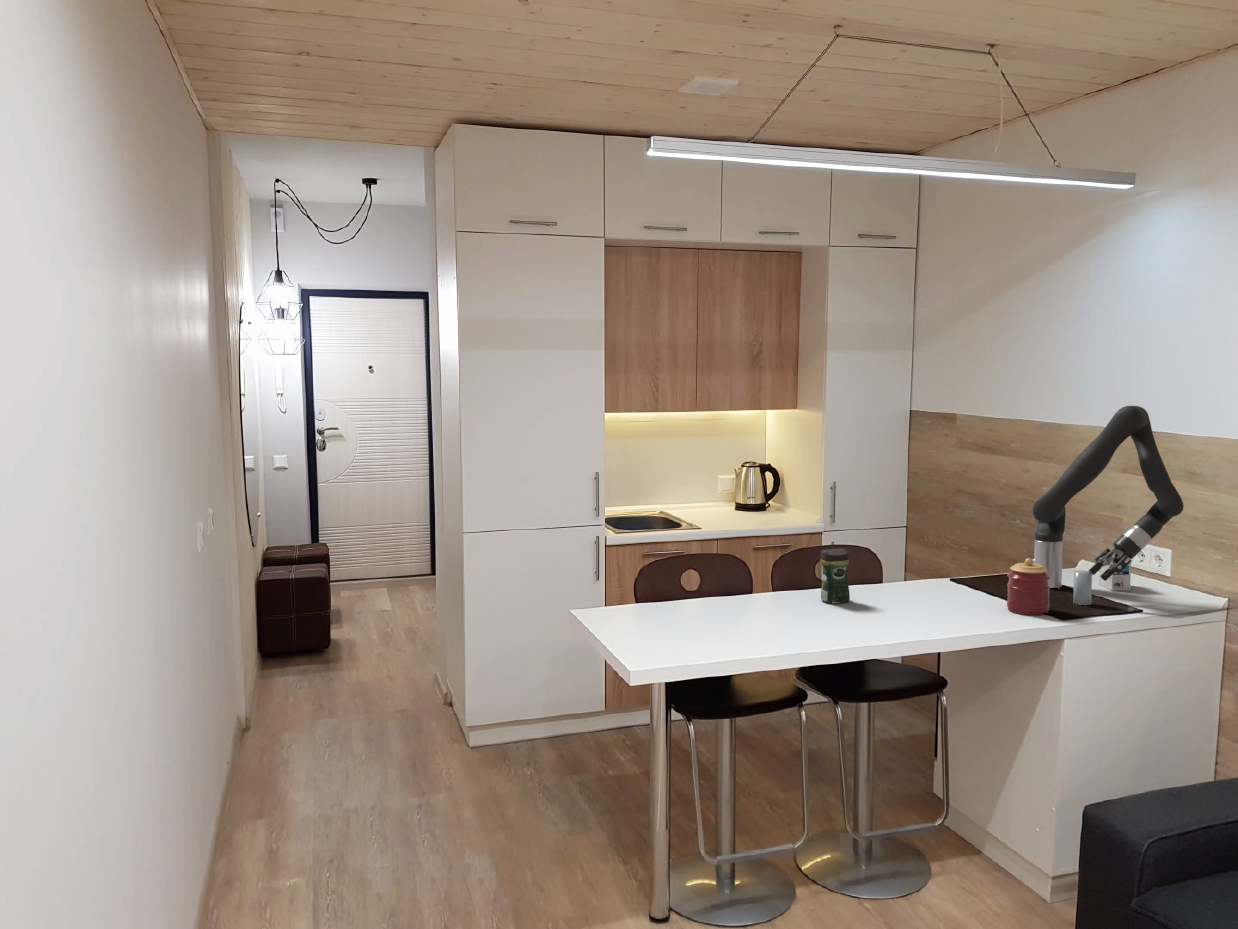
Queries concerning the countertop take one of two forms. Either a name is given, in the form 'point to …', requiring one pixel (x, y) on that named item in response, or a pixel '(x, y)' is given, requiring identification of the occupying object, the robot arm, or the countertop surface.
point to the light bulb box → (1116, 579)
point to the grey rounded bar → (1082, 587)
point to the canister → (1028, 588)
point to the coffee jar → (835, 575)
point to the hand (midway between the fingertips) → (1096, 576)
